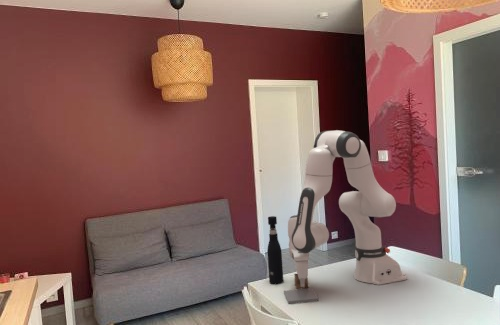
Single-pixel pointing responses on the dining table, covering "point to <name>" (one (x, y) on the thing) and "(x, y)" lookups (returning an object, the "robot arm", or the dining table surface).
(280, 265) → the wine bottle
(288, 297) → the slate board
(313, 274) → the dining table surface
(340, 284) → the dining table surface
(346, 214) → the robot arm
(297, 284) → the walnut block
